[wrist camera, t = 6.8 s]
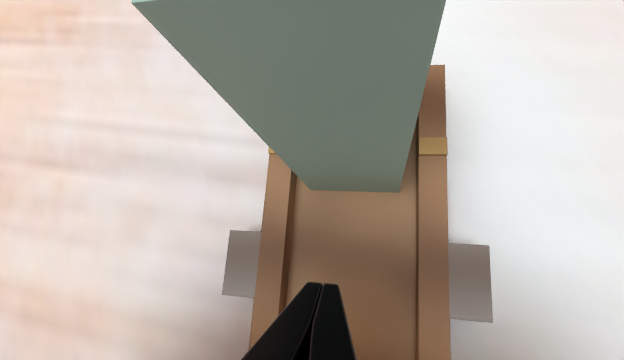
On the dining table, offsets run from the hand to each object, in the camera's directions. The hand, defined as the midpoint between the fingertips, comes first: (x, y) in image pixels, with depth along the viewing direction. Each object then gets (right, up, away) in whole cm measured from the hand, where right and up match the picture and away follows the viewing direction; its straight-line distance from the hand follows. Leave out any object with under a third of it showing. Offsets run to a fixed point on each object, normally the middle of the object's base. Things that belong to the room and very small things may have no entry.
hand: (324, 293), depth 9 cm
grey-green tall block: (+2, +5, +8) cm, 10 cm away
